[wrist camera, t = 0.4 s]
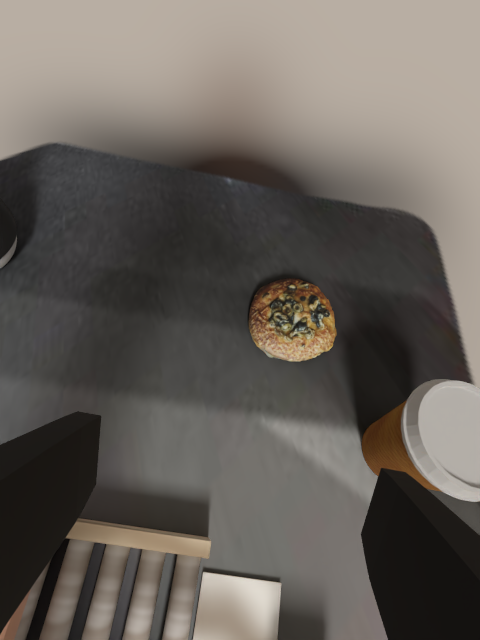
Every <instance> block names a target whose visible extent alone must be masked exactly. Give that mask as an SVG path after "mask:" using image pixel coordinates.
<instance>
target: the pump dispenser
mask: <svg viewBox="0 0 480 640" xmlns="http://www.w3.org/2000/svg"><path fill="white" fill-rule="evenodd" d="M16 243H17V224H16V221H15V218H14V216H13V215H12V213H11V211H10V210H9V208H8V207H7V206H6V204H5V203H4V202H3V201H2V199H1V198H0V269H1V268H2V267H3V266H5V265H6V264H7V263H8V261H9V260H10V259H11V257H12V256H13V254H14V251H15V248H16Z"/></svg>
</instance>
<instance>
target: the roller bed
mask: <svg viewBox="0 0 480 640" xmlns="http://www.w3.org/2000/svg"><path fill="white" fill-rule="evenodd" d="M66 538H69V539H70V540H69V544H68V547H67V550H66V553H65V557H64V560H63V563H62V567H61V570H60V573H59V576H58V580H57V583H56V586H55V589H54V593H53V596H52V599H51V602H50V606H49V609H48V612H47V616H46V619H45V622H44V625H43V629H42V632H41V635H40V638H39V640H68V637H69V633H70V630H71V626H72V622H73V619H74V615H75V612H76V608H77V604H78V601H79V597H80V594H81V590H82V586H83V583H84V579H85V576H86V572H87V568H88V565H89V561H90V558H91V554H92V550H93V547H94V543H95V542H97V543H104V544H106V548H105V552H104V555H103V559H102V563H101V567H100V571H99V574H98V578H97V582H96V586H95V589H94V593H93V597H92V601H91V605H90V608H89V612H88V616H87V620H86V623H85V627H84V631H83V635H82V639H81V640H109V636H110V632H111V628H112V624H113V620H114V615H115V611H116V607H117V603H118V598H119V594H120V590H121V586H122V582H123V577H124V573H125V569H126V565H127V560H128V556H129V552H130V548H131V547H132V548H139V549H142V553H141V558H140V562H139V567H138V571H137V576H136V580H135V585H134V589H133V594H132V598H131V602H130V607H129V611H128V616H127V620H126V625H125V629H124V634H123V638H122V640H149V636H150V631H151V626H152V621H153V616H154V611H155V606H156V601H157V596H158V591H159V585H160V580H161V575H162V570H163V565H164V560H165V555H166V553H173V554H178V555H177V561H176V566H175V572H174V577H173V582H172V588H171V593H170V599H169V604H168V609H167V615H166V620H165V626H164V631H163V637H162V640H188V636H189V630H190V623H191V617H192V611H193V604H194V598H195V592H196V585H197V579H198V573H199V567H200V560H201V558H208V559H209V553H210V546H211V540H210V539H209V538H208V537H203V536H196V535H189V534H183V533H176V532H169V531H162V530H156V529H149V528H142V527H135V526H129V525H122V524H115V523H108V522H102V521H95V520H88V519H82V518H78V519H77V521H76V523H75V524H74V526H73V527H72V529H71V530H70V532H69V533H68V535H67V536H66ZM51 559H52V558H51ZM50 562H51V560H50V561H49V563H48V564H47V566H46V567H45V569H44V570H43V572H42V573H41V574H40V576H39V577H38V579H37V580H36V582H35V583H34V585H33V586H32V588H31V590H30V594H29V597H28V600H27V603H26V606H25V609H24V612H23V615H22V618H21V621H20V624H19V627H18V630H17V633H16V636H15V639H14V640H26V637H27V634H28V631H29V628H30V624H31V621H32V618H33V615H34V612H35V609H36V606H37V603H38V599H39V596H40V593H41V590H42V587H43V584H44V581H45V578H46V574H47V571H48V568H49V565H50ZM280 594H281V583H280V582H273V581H266V580H259V579H252V578H245V577H238V576H231V575H224V574H217V573H209V572H203V575H202V582H201V588H200V595H199V601H198V608H197V614H196V621H195V627H194V634H193V640H277V637H278V623H279V608H280Z"/></svg>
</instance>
